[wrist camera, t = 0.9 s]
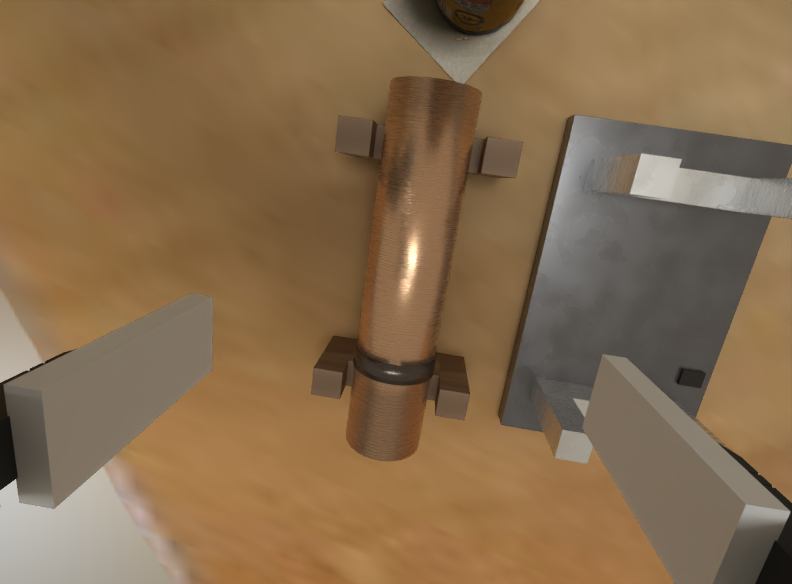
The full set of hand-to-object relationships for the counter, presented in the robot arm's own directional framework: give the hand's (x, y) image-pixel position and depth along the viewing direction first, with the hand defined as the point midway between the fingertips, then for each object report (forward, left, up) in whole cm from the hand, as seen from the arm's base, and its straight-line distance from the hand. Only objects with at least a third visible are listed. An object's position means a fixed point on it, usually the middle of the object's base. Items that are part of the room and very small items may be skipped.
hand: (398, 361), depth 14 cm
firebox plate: (0, +16, -19) cm, 24 cm away
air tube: (0, 0, -15) cm, 15 cm away
